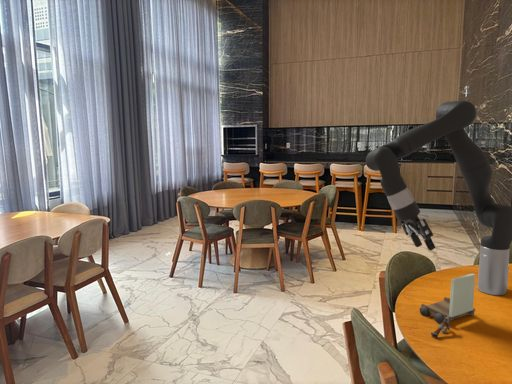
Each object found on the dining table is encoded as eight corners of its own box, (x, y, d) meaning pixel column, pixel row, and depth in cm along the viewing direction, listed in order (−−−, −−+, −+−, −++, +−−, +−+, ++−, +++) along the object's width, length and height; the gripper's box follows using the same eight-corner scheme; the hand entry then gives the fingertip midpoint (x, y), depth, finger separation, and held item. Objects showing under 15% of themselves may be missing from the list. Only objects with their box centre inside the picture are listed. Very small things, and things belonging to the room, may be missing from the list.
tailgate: (469, 308, 122) (472, 273, 121) (472, 310, 122) (475, 274, 120) (449, 315, 118) (451, 279, 116) (451, 317, 117) (454, 280, 115)
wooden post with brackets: (453, 328, 115) (450, 316, 113) (439, 345, 111) (436, 334, 110) (447, 325, 116) (445, 314, 115) (433, 343, 113) (430, 331, 111)
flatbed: (447, 304, 132) (447, 296, 132) (476, 317, 123) (476, 308, 122) (418, 313, 126) (419, 305, 125) (447, 327, 117) (447, 318, 116)
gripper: (423, 198, 117) (447, 244, 117) (403, 198, 131) (424, 240, 132) (402, 209, 117) (426, 256, 117) (384, 208, 131) (405, 250, 131)
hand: (425, 247), depth 124 cm, fingers open, 8 cm apart
